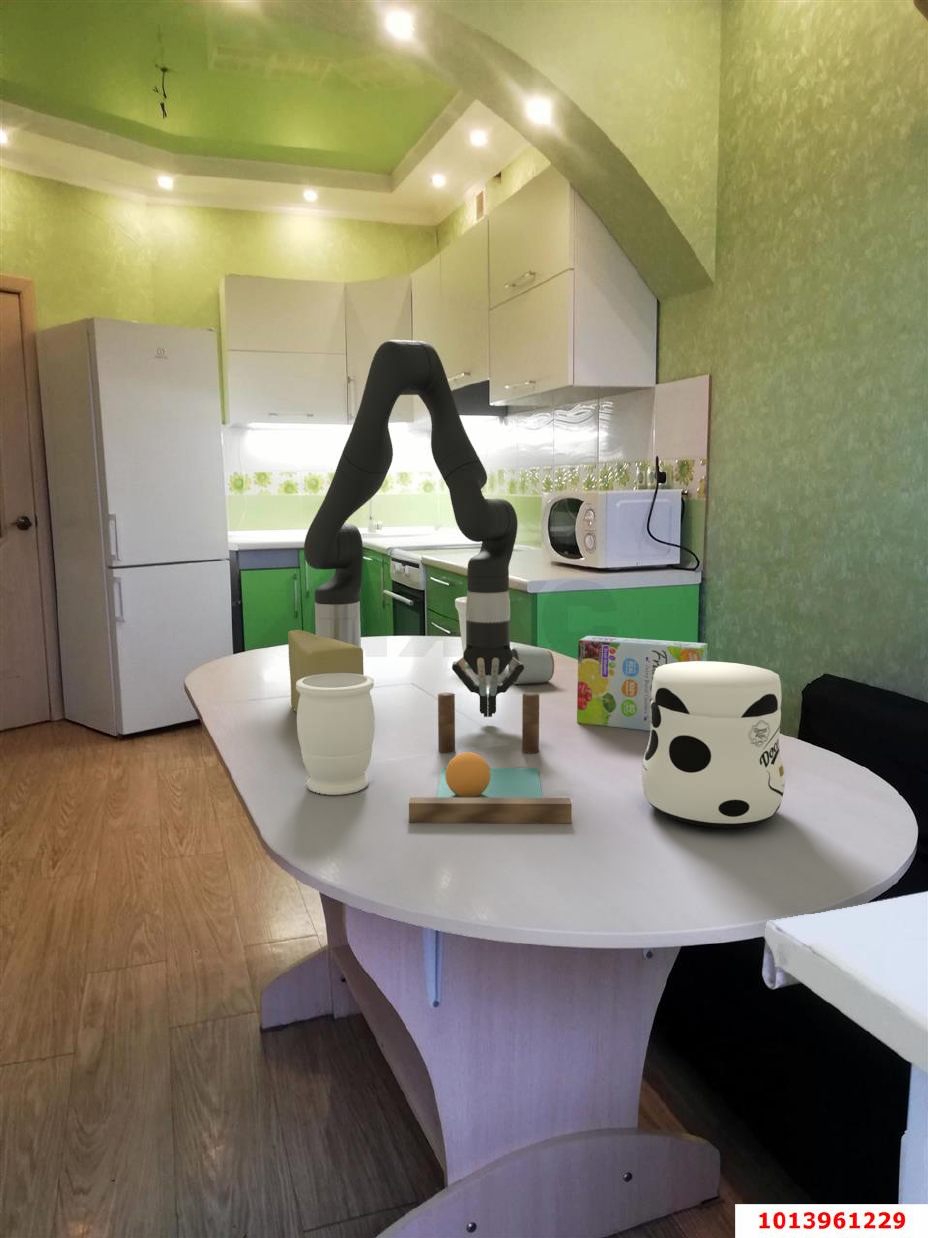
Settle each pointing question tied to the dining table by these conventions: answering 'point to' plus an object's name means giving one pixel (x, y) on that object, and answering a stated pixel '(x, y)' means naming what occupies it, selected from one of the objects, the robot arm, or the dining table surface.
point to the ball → (467, 775)
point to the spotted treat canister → (714, 744)
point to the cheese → (319, 658)
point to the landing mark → (502, 784)
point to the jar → (336, 731)
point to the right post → (530, 723)
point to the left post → (446, 722)
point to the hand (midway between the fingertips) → (488, 715)
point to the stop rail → (489, 810)
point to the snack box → (624, 677)
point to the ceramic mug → (534, 665)
